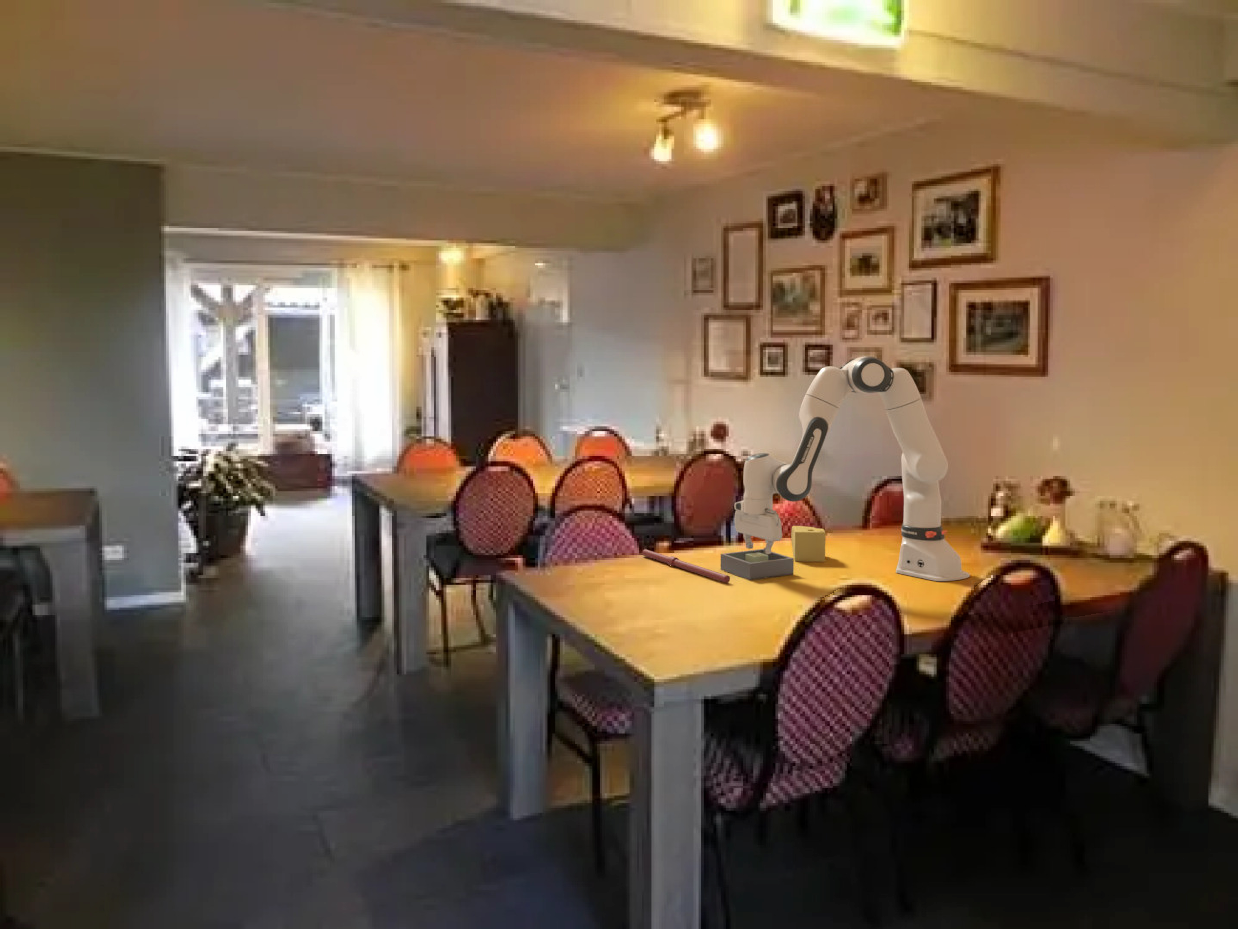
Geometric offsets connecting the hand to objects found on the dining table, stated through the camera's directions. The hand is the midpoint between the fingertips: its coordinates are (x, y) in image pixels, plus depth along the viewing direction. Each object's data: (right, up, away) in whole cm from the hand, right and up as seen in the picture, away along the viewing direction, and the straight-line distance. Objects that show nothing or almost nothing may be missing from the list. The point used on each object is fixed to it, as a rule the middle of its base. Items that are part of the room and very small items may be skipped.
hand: (758, 551), depth 309 cm
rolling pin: (-23, -7, +5) cm, 24 cm away
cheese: (+19, -5, +20) cm, 28 cm away
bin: (0, -7, +1) cm, 7 cm away
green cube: (0, -6, +1) cm, 6 cm away
